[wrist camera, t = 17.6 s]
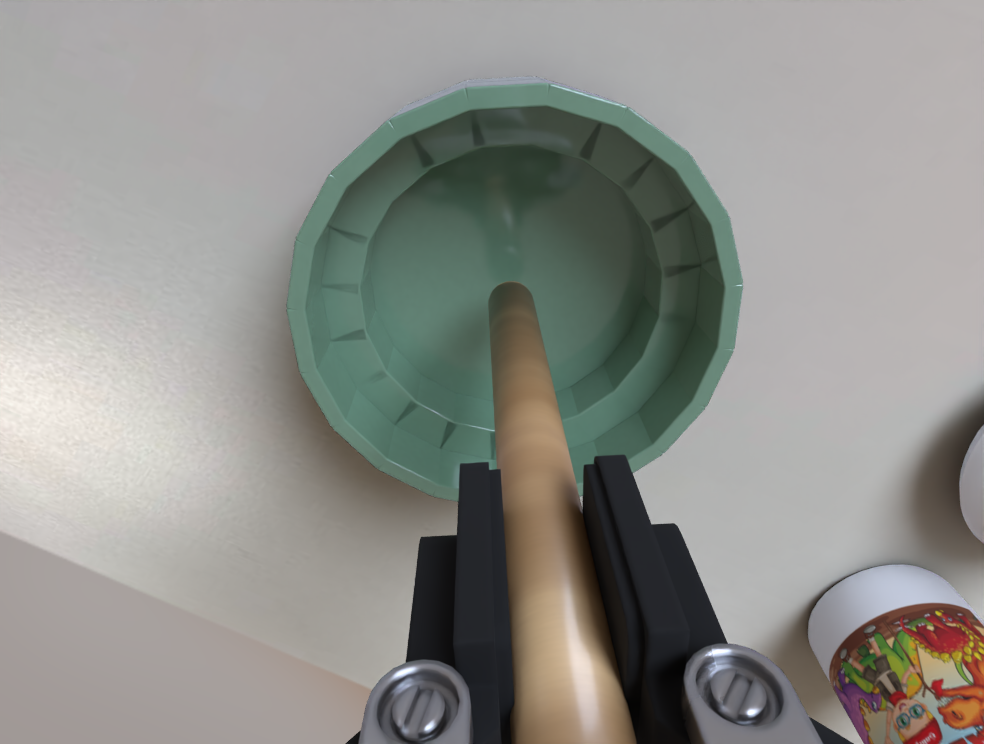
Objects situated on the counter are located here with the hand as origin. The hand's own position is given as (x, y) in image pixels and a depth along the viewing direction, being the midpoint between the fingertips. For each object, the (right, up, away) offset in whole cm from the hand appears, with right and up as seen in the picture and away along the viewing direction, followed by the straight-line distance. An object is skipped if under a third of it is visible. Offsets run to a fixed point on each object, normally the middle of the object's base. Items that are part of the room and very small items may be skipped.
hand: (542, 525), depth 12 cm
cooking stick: (0, +6, +11) cm, 13 cm away
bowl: (0, +7, +13) cm, 15 cm away
